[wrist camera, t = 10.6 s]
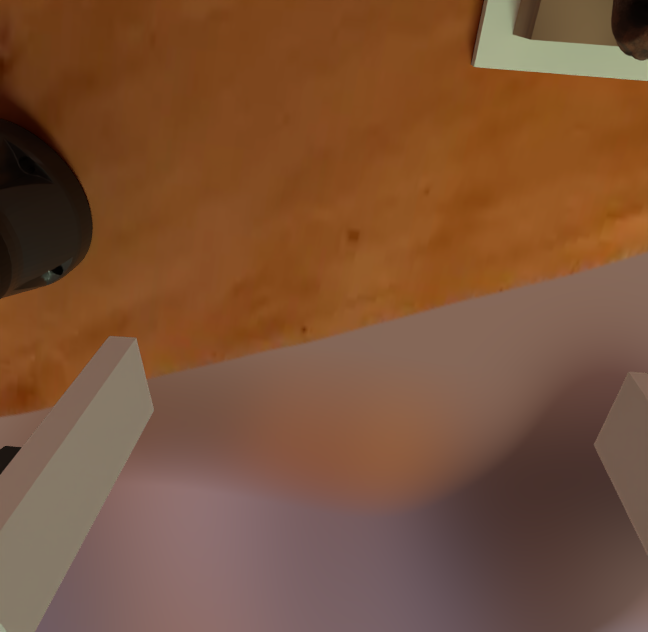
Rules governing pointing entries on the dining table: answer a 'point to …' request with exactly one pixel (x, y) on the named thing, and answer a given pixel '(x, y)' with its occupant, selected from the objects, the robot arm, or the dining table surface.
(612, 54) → the build board
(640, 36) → the pottery mug
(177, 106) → the dining table surface
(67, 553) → the robot arm
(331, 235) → the dining table surface
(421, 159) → the dining table surface
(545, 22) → the walnut block
